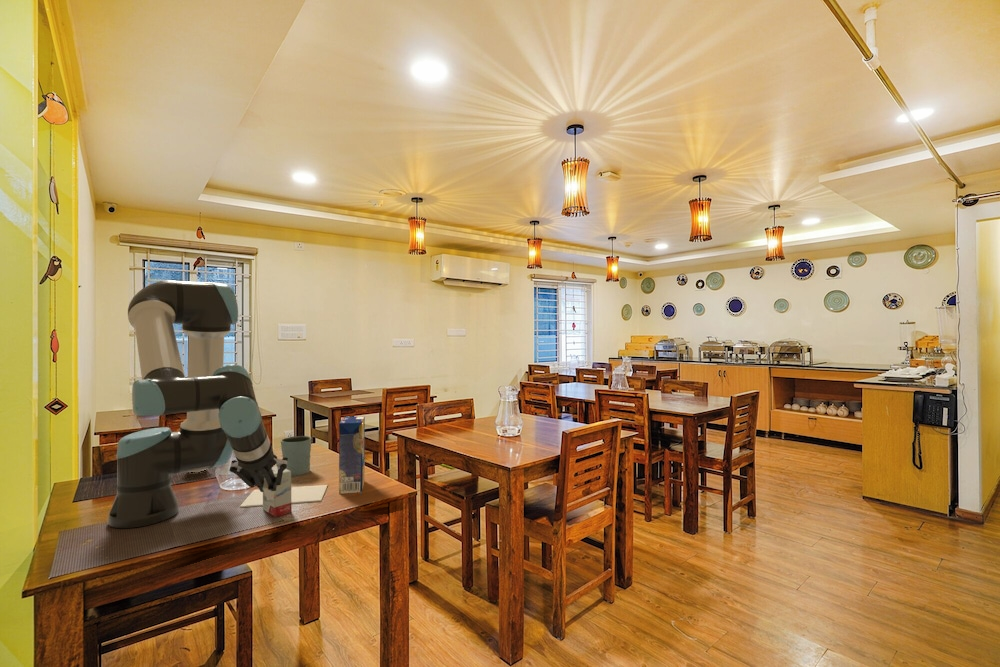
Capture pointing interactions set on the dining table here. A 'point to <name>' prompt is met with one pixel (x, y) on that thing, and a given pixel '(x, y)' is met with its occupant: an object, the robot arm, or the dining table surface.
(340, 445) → the beverage box
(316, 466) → the dining table surface
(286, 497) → the ink box
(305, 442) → the green tapered cup
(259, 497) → the mat
